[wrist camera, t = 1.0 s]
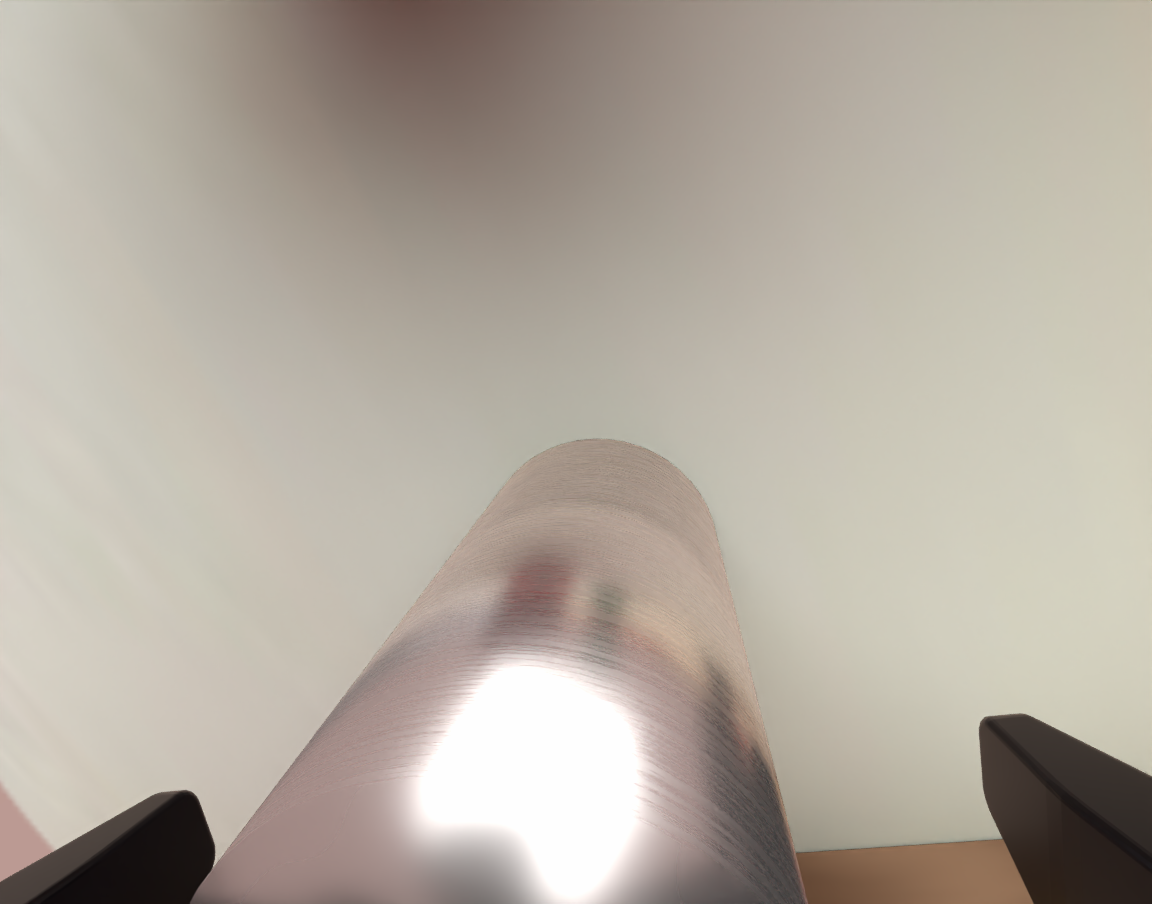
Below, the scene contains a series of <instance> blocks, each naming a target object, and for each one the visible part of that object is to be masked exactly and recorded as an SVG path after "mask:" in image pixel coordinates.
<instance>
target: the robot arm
mask: <svg viewBox="0 0 1152 904" xmlns="http://www.w3.org/2000/svg"><path fill="white" fill-rule="evenodd" d="M979 740H980V753H981V767H982V781H983V789H984V794H985V798H986V802H987V805H988V807H989V810H990V812H991V815H992V817H993V819H994V821H995V823H996V825H997V827H998V830H999V832H1000V834H1001V836H1002V838H1003V840H1004V842H1005V844H1006V846H1007V849H1008V851H1009V853H1010V855H1011V857H1012V859H1013V861H1014V863H1015V865H1016V868H1017V870H1018V872H1019V874H1020V876H1021V878H1022V880H1023V882H1024V884H1025V887H1026V889H1027V891H1028V893H1029V895H1030V897H1031V899H1032V901H1033V903H1034V904H1152V776H1150V775H1148V774H1146V773H1144V772H1142V771H1140V770H1138V769H1136V768H1134V767H1132V766H1130V765H1128V764H1126V763H1124V762H1122V761H1120V760H1118V759H1116V758H1114V757H1112V756H1110V755H1108V754H1106V753H1104V752H1102V751H1100V750H1098V749H1096V748H1094V747H1092V746H1090V745H1088V744H1086V743H1084V742H1082V741H1080V740H1078V739H1076V738H1074V737H1072V736H1070V735H1068V734H1066V733H1064V732H1062V731H1060V730H1058V729H1056V728H1054V727H1052V726H1050V725H1048V724H1046V723H1044V722H1042V721H1040V720H1038V719H1036V718H1034V717H1031V716H1029V715H1026V714H1008V715H998V716H987V717H985V718H984V719H983V720H982V721H981V722H980V726H979ZM214 860H215V844H214V841H213V838H212V835H211V832H210V830H209V827H208V824H207V821H206V818H205V816H204V813H203V810H202V807H201V805H200V802H199V800H198V798H197V796H196V795H195V794H194V793H193V792H191V791H187V790H181V791H170V792H161V793H157V794H155V795H152V796H150V797H149V798H147V799H145V800H143V801H142V802H140V803H138V804H136V805H135V806H133V807H131V808H129V809H128V810H126V811H124V812H122V813H121V814H119V815H117V816H115V817H114V818H112V819H110V820H108V821H107V822H105V823H103V824H101V825H99V826H98V827H96V828H94V829H92V830H91V831H89V832H87V833H85V834H84V835H82V836H80V837H78V838H77V839H75V840H73V841H71V842H70V843H68V844H66V845H64V846H63V847H61V848H59V849H57V850H56V851H54V852H52V853H50V854H48V855H47V856H45V857H43V858H42V859H40V860H38V861H36V862H35V863H33V864H31V865H29V866H27V867H26V868H24V869H22V870H20V871H19V872H17V873H15V874H13V875H12V876H10V877H8V878H6V879H5V880H3V881H1V882H0V904H190V902H191V900H192V898H193V896H194V894H195V893H196V891H197V889H198V888H199V886H200V885H201V884H202V882H203V881H204V880H205V878H206V877H207V876H208V874H209V873H210V872H211V870H212V868H213V864H214Z"/></svg>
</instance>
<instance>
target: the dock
mask: <svg viewBox="0 0 1152 904" xmlns="http://www.w3.org/2000/svg"><path fill="white" fill-rule="evenodd" d="M796 857H797V861H798V865H799V869H800V873H801V877H802V881H803V885H804V889H805V893H806V897H807V901H808V904H1034V903H1033V901H1032V899H1031V897H1030V895H1029V893H1028V891H1027V889H1026V887H1025V884H1024V882H1023V880H1022V878H1021V876H1020V874H1019V872H1018V870H1017V868H1016V865H1015V863H1014V861H1013V859H1012V857H1011V855H1010V853H1009V851H1008V849H1007V846H1006V844H1005V842H1004V840H1003V839H1000V840H985V841H970V842H955V843H941V844H926V845H911V846H896V847H881V848H866V849H851V850H837V851H822V852H807V853H796Z"/></svg>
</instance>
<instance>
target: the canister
mask: <svg viewBox="0 0 1152 904" xmlns="http://www.w3.org/2000/svg"><path fill="white" fill-rule="evenodd" d="M190 904H808V901H807V897H806V893H805V889H804V885H803V881H802V877H801V873H800V869H799V865H798V861H797V857H796V853H795V849H794V845H793V841H792V837H791V833H790V829H789V825H788V821H787V817H786V813H785V809H784V805H783V801H782V797H781V793H780V789H779V785H778V781H777V777H776V773H775V769H774V764H773V760H772V756H771V752H770V748H769V744H768V740H767V736H766V732H765V728H764V724H763V720H762V716H761V712H760V708H759V704H758V700H757V696H756V692H755V688H754V684H753V680H752V676H751V672H750V668H749V664H748V660H747V656H746V652H745V648H744V644H743V640H742V636H741V632H740V628H739V624H738V620H737V616H736V612H735V608H734V604H733V599H732V595H731V591H730V587H729V583H728V579H727V575H726V571H725V567H724V563H723V559H722V555H721V551H720V547H719V543H718V539H717V535H716V531H715V527H714V523H713V520H712V517H711V515H710V512H709V509H708V507H707V505H706V503H705V501H704V500H703V498H702V496H701V494H700V493H699V491H698V490H697V489H696V487H695V486H694V485H693V483H692V482H691V481H690V480H689V479H688V478H687V477H686V476H685V475H684V474H683V473H682V472H681V471H680V470H679V469H678V468H677V467H675V466H674V465H673V464H672V463H670V462H669V461H668V460H666V459H664V458H663V457H661V456H659V455H658V454H656V453H654V452H652V451H650V450H647V449H645V448H643V447H641V446H637V445H634V444H631V443H627V442H623V441H617V440H610V439H586V440H577V441H572V442H568V443H564V444H561V445H558V446H555V447H553V448H550V449H548V450H546V451H544V452H542V453H540V454H538V455H536V456H535V457H533V458H532V459H530V460H529V461H528V462H526V463H525V464H524V465H522V466H521V467H520V468H519V469H518V470H517V471H516V472H515V473H514V474H513V475H512V476H511V477H510V479H509V480H508V481H507V482H506V484H505V485H504V486H503V488H502V489H501V490H500V492H499V493H498V494H497V495H496V497H495V498H494V499H493V501H492V502H491V503H490V505H489V506H488V507H487V509H486V510H485V511H484V513H483V514H482V515H481V517H480V518H479V519H478V520H477V522H476V523H475V524H474V526H473V527H472V528H471V530H470V531H469V532H468V534H467V535H466V536H465V538H464V539H463V540H462V542H461V543H460V544H459V545H458V547H457V548H456V549H455V551H454V552H453V553H452V555H451V556H450V557H449V559H448V560H447V561H446V563H445V564H444V565H443V567H442V568H441V569H440V570H439V572H438V573H437V574H436V576H435V577H434V578H433V580H432V581H431V582H430V584H429V585H428V586H427V588H426V589H425V590H424V592H423V593H422V594H421V595H420V597H419V598H418V599H417V601H416V602H415V603H414V605H413V606H412V607H411V609H410V610H409V611H408V613H407V614H406V615H405V617H404V618H403V619H402V620H401V622H400V623H399V624H398V626H397V627H396V628H395V630H394V631H393V632H392V634H391V635H390V636H389V638H388V639H387V640H386V642H385V643H384V644H383V645H382V647H381V648H380V649H379V651H378V652H377V653H376V655H375V656H374V657H373V659H372V660H371V661H370V663H369V664H368V665H367V667H366V668H365V669H364V670H363V672H362V673H361V674H360V676H359V677H358V678H357V680H356V681H355V682H354V684H353V685H352V686H351V688H350V689H349V690H348V692H347V693H346V694H345V695H344V697H343V698H342V699H341V701H340V702H339V703H338V705H337V706H336V707H335V709H334V710H333V711H332V713H331V714H330V715H329V717H328V718H327V719H326V720H325V722H324V723H323V724H322V726H321V727H320V728H319V730H318V731H317V732H316V734H315V735H314V736H313V738H312V739H311V740H310V742H309V743H308V744H307V745H306V747H305V748H304V749H303V751H302V752H301V753H300V755H299V756H298V757H297V759H296V760H295V761H294V763H293V764H292V765H291V767H290V768H289V769H288V770H287V772H286V773H285V774H284V776H283V777H282V778H281V780H280V781H279V782H278V784H277V785H276V786H275V788H274V789H273V790H272V792H271V793H270V794H269V795H268V797H267V798H266V799H265V801H264V802H263V803H262V805H261V806H260V807H259V809H258V810H257V811H256V813H255V814H254V815H253V817H252V818H251V819H250V820H249V822H248V823H247V824H246V826H245V827H244V828H243V830H242V831H241V832H240V834H239V835H238V836H237V838H236V839H235V840H234V842H233V843H232V844H231V845H230V847H229V848H228V849H227V851H226V852H225V853H224V855H223V856H222V857H221V859H220V860H219V861H218V863H217V864H216V865H215V867H214V868H213V869H212V870H211V872H210V873H209V874H208V876H207V877H206V878H205V880H204V881H203V882H202V884H201V885H200V886H199V888H198V889H197V891H196V893H195V894H194V896H193V898H192V900H191V902H190Z"/></svg>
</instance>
